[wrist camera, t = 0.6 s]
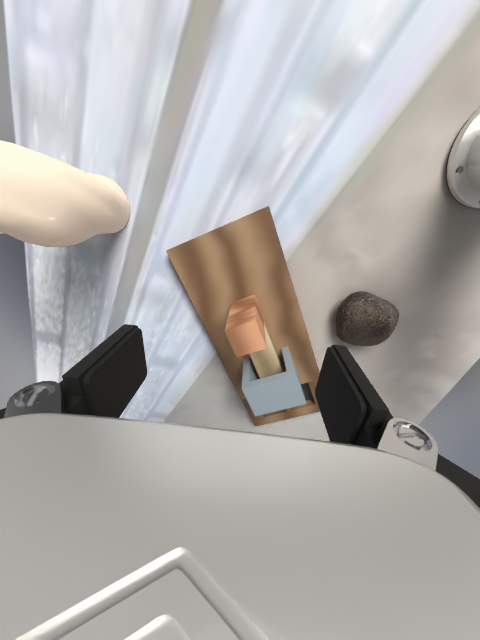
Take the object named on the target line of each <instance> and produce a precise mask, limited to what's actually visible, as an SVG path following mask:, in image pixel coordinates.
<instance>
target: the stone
mask: <svg viewBox="0 0 480 640" xmlns="http://www.w3.org/2000/svg"><path fill="white" fill-rule="evenodd" d="M398 318H399V313H398V310H397V309H396V307H395V306H394V305H392V304H391V303H389V302H388V301H386V300H383V299H381V298H379V297H377V296H375V295H373V294H371V293H369V292H364V291H360V292H355V293H352V294H350V295H349V296H348V297H347V298H346V299H345V300H344V301H343V302H342V304H341V306H340V307H339V310H338V314H337V336H338V337H339V338H340V339H341V340H342V341H344V342H347V343H350V344H354V345H360V346H372V345H377V344H380V343H382V342H383V341H385V340H386V339H387V338H389V336H390V335H391V334H392V332H393V331H394V329H395V327H396V325H397V322H398Z"/></svg>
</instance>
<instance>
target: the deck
mask: <svg viewBox="0 0 480 640" xmlns="http://www.w3.org/2000/svg"><path fill="white" fill-rule="evenodd" d="M166 252H167V254H168V256H169V258H170V260H171V262H172V263H173V265H174V267H175V269H176V271H177V273H178V275H179V277H180V279H181V281H182V283H183V285H184V287H185V289H186V291H187V293H188V295H189V297H190V299H191V301H192V303H193V305H194V307H195V309H196V311H197V313H198V314H199V316H200V318H201V320H202V322H203V324H204V326H205V328H206V330H207V332H208V334H209V336H210V338H211V340H212V342H213V344H214V346H215V348H216V350H217V352H218V354H219V356H220V358H221V360H222V362H223V364H224V366H225V367H226V369H227V371H228V373H229V375H230V377H231V379H232V381H233V383H234V385H235V387H236V389H237V391H238V393H239V395H240V397H241V399H242V401H243V403H244V405H245V407H246V409H247V411H248V413H249V415H250V417H251V418H252V420H253V422H254V424H255V426H259V425H263V424H267V423H272V422H276V421H280V420H285V419H289V418H293V417H297V416H302V415H306V414H310V413H315V412H319V411H320V408H319V405H318V402H317V399H316V396H315V388H316V385H317V382H318V378H319V375H320V373H319V369H318V366H317V363H316V359H315V356H314V353H313V350H312V346H311V343H310V340H309V337H308V333H307V330H306V327H305V323H304V320H303V317H302V314H301V310H300V307H299V304H298V300H297V297H296V294H295V291H294V287H293V284H292V281H291V278H290V274H289V271H288V268H287V264H286V261H285V258H284V255H283V251H282V248H281V245H280V241H279V238H278V235H277V232H276V228H275V225H274V222H273V219H272V215H271V212H270V209H269V206H268V207H265V208H263V209H261V210H259V211H256V212H254V213H252V214H249V215H247V216H245V217H242V218H240V219H238V220H236V221H233V222H231V223H229V224H226V225H224V226H222V227H219V228H217V229H215V230H213V231H210V232H208V233H206V234H203V235H201V236H199V237H197V238H194V239H192V240H190V241H187V242H185V243H183V244H180V245H178V246H176V247H174V248H171V249H169V250H167V251H166ZM254 294H255V296H256V299H257V302H258V304H259V307H260V309H261V312H262V315H263V317H264V320H265V322H266V325H267V328H268V330H269V333H270V336H271V338H272V341H273V343H274V346H275V349H276V351H277V354H278V356H279V359H280V362H281V364H282V367H283V369H284V372H286V366H285V362H284V357H283V353H282V349H281V348H283V347H287V346H288V348H289V350H290V353H291V356H292V359H293V362H294V364H295V367H296V370H297V373H298V376H299V380H300V383H301V387H302V390H303V394H304V397H305V400H306V404H304V405H300V406H296V407H292V408H288V409H284V410H279V411H275V412H271V413H267V414H263V415H259V416H255V415H254V413H253V411H252V409H251V407H250V405H249V403H248V401H247V399H246V397H245V395H244V393H243V391H242V374H243V359H247V358H250V360H251V362H252V364H253V367H254V369H255V371H256V373H257V376H258V378H259V379H260V377H259V374H258V372H257V370H256V368H255V365H254V363H253V361H252V359H251V356H250V354H247V355H243V356H240V357H236V354H235V352H234V350H233V348H232V346H231V344H230V342H229V340H228V338H227V335H226V333H225V328H226V323H227V319H228V315H229V311H230V307H231V303H232V302H234V301H237V300H240V299H243V298H246V297H248V296H251V295H254Z"/></svg>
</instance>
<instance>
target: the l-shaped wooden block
mask: <svg viewBox="0 0 480 640" xmlns="http://www.w3.org/2000/svg"><path fill="white" fill-rule="evenodd" d="M225 333H226V335H227V338H228V340H229V342H230V344H231V346H232V348H233V350H234V352H235V354H236V357H240V356H243V355H247V354H250V356H251V359H252V361H253V363H254V365H255V368H256V370H257V372H258V374H259V377H260V379H261V378H265V377H268V376H272V375H275V374H279V373H283V372H284V369H283V367H282V364H281V362H280V359H279V356H278V354H277V351H276V349H275V346H274V343H273V341H272V338H271V336H270V333H269V330H268V328H267V325H266V322H265V320H264V317H263V315H262V312H261V309H260V307H259V304H258V302H257V299H256V296H255V294H254V295H251V296H248V297H246V298H243V299H240V300H237V301H234V302H232V303H231V307H230V311H229V315H228V319H227V323H226V328H225Z"/></svg>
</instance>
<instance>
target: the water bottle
mask: <svg viewBox="0 0 480 640" xmlns="http://www.w3.org/2000/svg"><path fill="white" fill-rule="evenodd" d="M129 215H130V206H129V202H128V199H127V197H126V195H125V193H124V192H123V190H122V189H121V188H120V186H119V185H118V184H117V183H115V182H114V181H113V180H111V179H110V178H108V177H105V176H102V175H97V174H90V173H85V172H83V171H81V170H79V169H77V168H75V167H73V166H71V165H69V164H67V163H64V162H62V161H59V160H57V159H55V158H52V157H50V156H47V155H45V154H42V153H39V152H37V151H34V150H31V149H28V148H25V147H22V146H19V145H16V144H13V143H10V142H5V141H1V140H0V234H2V233H7V234H9V235H10V236H12V237H14V238H16V239H19V240H21V241H24V242H27V243H31V244H36V245H40V246H45V247H65V246H72V245H76V244H79V243H82V242H84V241H86V240H88V239H89V238H91V237H93V236H95V235H99V234H110V233H116V232H119V231H120V230H122V229H123V228H124V227H125V226H126V224H127V222H128V219H129Z"/></svg>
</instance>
